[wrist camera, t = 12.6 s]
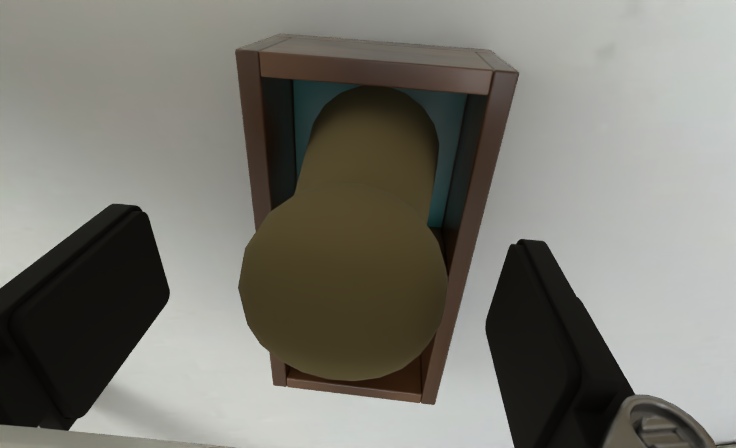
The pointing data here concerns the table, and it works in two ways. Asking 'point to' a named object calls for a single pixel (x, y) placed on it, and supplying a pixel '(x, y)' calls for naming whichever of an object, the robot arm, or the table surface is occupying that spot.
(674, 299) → the table surface
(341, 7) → the table surface
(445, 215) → the caddy
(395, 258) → the cork
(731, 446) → the spray can
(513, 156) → the table surface
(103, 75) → the table surface
